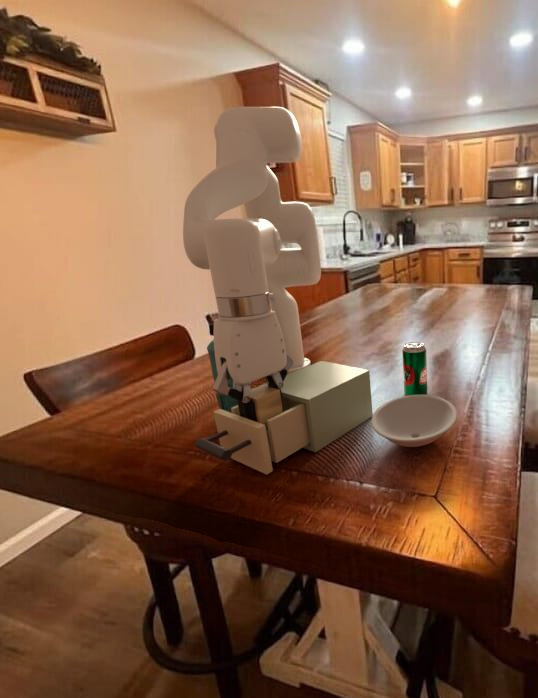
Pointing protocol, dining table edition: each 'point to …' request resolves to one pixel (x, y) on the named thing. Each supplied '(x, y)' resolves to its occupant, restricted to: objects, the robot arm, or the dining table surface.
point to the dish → (414, 419)
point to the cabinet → (330, 399)
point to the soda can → (414, 369)
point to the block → (266, 403)
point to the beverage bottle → (223, 399)
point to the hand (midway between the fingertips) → (263, 415)
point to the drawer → (258, 436)
